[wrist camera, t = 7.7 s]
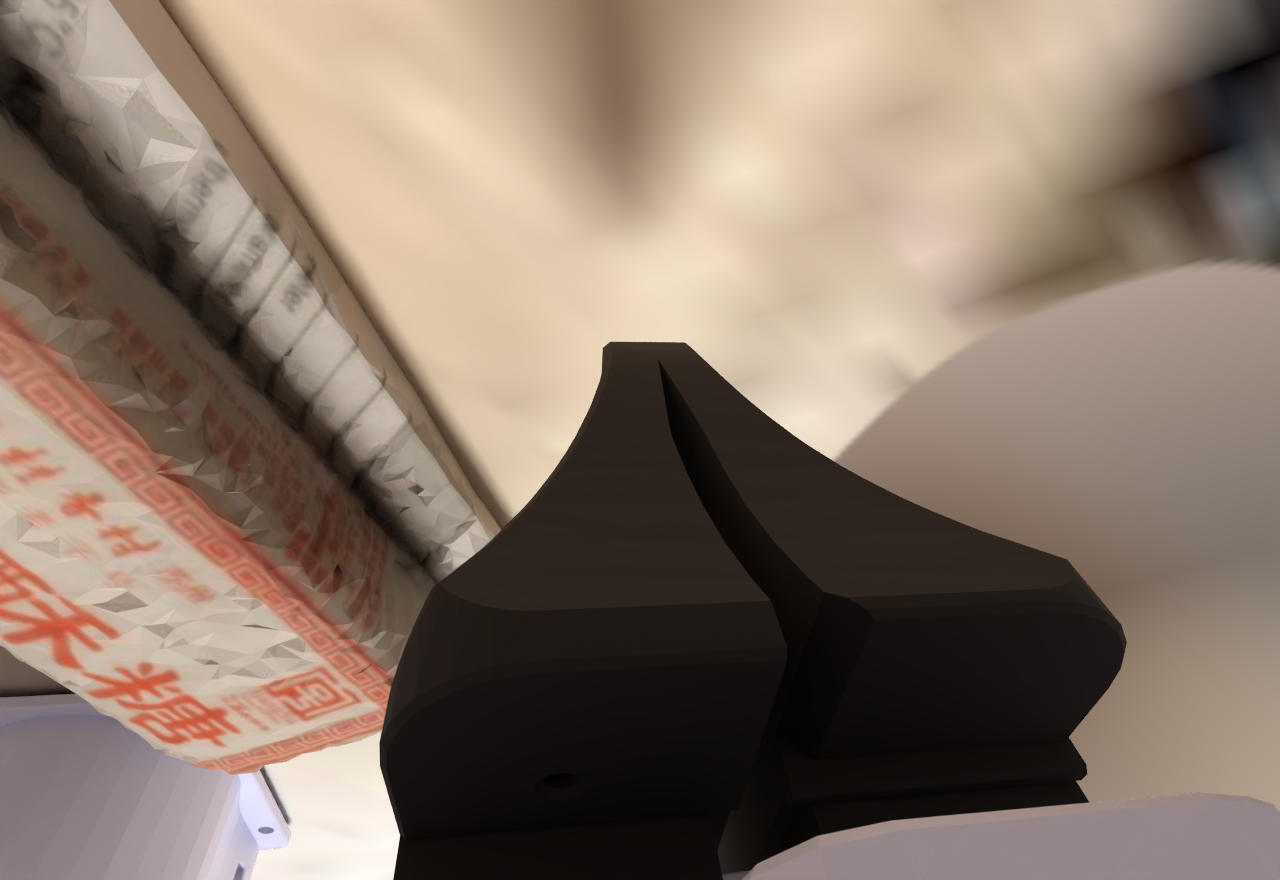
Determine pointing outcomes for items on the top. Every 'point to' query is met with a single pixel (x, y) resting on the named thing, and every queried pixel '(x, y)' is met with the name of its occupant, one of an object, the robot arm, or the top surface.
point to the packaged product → (195, 414)
